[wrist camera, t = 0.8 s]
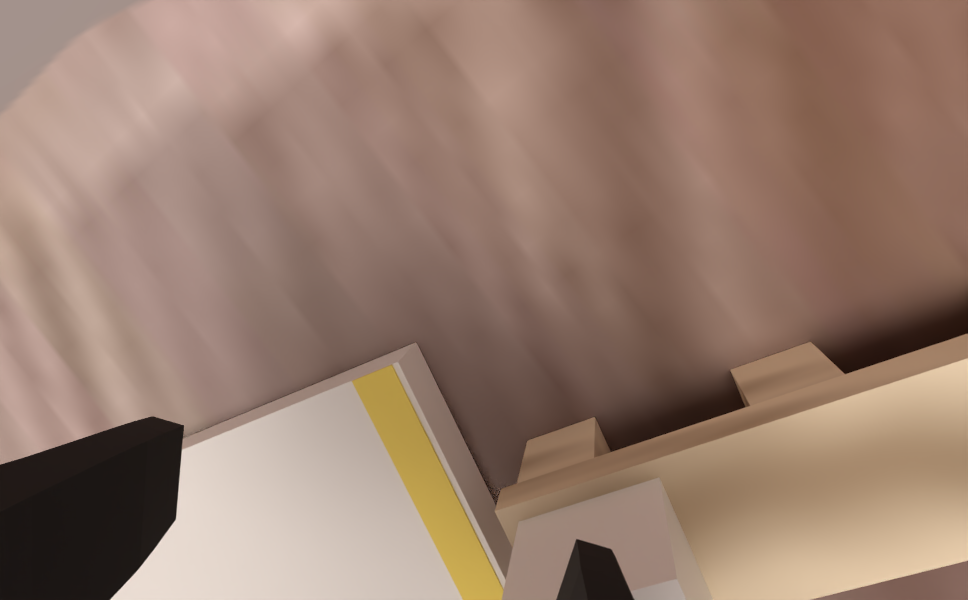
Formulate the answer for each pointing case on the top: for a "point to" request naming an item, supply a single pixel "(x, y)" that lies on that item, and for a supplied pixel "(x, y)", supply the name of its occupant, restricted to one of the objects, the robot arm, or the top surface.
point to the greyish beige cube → (609, 546)
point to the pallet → (792, 474)
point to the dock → (333, 500)
